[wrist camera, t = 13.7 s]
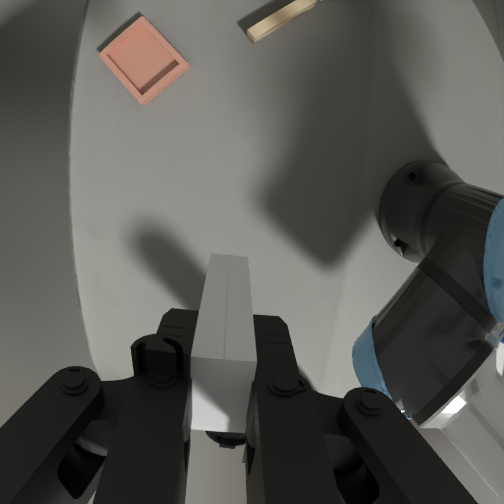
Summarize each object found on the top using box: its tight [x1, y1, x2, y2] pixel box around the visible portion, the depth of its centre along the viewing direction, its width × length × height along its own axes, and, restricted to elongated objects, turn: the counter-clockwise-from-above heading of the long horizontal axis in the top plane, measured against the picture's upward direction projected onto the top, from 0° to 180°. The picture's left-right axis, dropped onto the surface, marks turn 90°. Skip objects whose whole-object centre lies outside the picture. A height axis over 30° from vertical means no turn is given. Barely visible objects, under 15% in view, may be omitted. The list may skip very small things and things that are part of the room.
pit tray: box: [98, 16, 191, 106], centre depth 34 cm, size 8×10×2 cm
